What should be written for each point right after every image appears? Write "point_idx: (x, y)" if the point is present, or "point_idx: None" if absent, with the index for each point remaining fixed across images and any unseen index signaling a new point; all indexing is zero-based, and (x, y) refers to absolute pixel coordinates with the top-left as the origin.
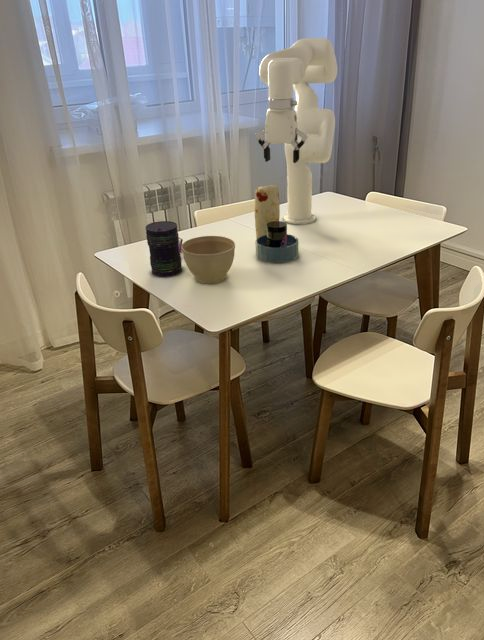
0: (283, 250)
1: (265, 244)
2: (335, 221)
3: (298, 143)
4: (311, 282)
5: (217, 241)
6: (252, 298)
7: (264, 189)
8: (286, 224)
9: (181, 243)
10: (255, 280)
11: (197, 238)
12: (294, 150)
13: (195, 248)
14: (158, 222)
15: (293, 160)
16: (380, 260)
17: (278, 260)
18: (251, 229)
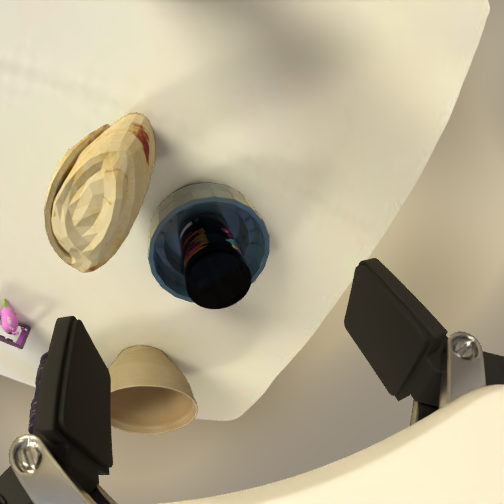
0: None
1: (165, 236)
2: None
3: (479, 381)
4: (311, 306)
5: (128, 379)
6: (242, 375)
7: (106, 254)
8: (249, 273)
9: (24, 343)
10: (218, 340)
11: None
12: (403, 396)
13: None
14: (31, 427)
15: (353, 336)
16: (411, 174)
17: None
18: (31, 78)
